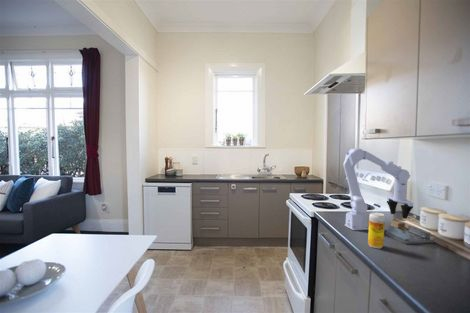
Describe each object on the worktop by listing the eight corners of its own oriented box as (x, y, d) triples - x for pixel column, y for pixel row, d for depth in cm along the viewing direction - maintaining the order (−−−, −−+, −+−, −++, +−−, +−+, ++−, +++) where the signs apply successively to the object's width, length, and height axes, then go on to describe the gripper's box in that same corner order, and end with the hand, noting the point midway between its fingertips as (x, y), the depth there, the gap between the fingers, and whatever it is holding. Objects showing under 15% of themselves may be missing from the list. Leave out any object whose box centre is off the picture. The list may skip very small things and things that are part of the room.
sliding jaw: (404, 240, 115) (405, 233, 115) (388, 232, 125) (388, 226, 125) (409, 239, 115) (410, 233, 115) (392, 231, 125) (393, 226, 125)
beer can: (375, 249, 107) (377, 216, 106) (364, 244, 113) (366, 212, 112) (386, 248, 109) (388, 215, 108) (375, 242, 115) (377, 211, 114)
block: (397, 232, 129) (398, 223, 129) (390, 229, 133) (391, 220, 133) (404, 232, 130) (405, 223, 129) (397, 229, 134) (398, 220, 134)
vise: (405, 244, 114) (406, 234, 114) (385, 234, 126) (386, 226, 125) (434, 242, 117) (435, 233, 116) (412, 233, 128) (412, 224, 128)
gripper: (419, 193, 124) (417, 220, 125) (395, 188, 138) (394, 211, 139) (407, 194, 123) (405, 220, 123) (384, 188, 137) (383, 212, 138)
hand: (398, 216), depth 131 cm, fingers open, 7 cm apart
